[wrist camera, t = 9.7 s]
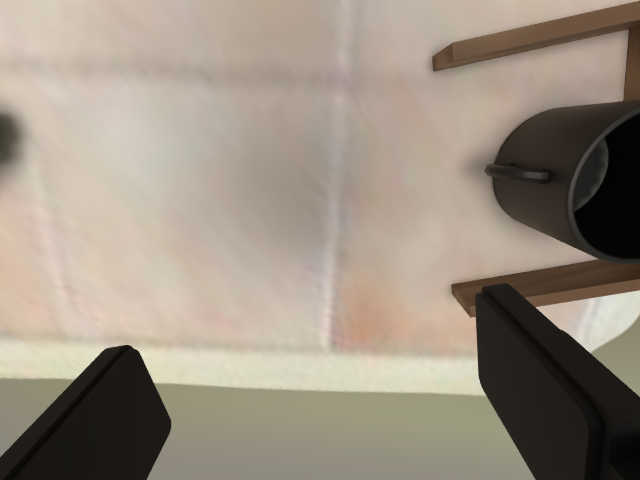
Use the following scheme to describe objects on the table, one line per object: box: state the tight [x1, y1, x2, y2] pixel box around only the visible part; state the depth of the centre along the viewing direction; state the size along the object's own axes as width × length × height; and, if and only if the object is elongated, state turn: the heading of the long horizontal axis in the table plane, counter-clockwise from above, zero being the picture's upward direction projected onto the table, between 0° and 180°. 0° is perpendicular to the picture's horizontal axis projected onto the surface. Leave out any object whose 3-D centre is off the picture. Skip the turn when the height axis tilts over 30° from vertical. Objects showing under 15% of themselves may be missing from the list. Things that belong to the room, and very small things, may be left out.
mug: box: [485, 100, 640, 264], centre depth 23 cm, size 9×12×9 cm
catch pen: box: [433, 1, 640, 317], centre depth 25 cm, size 20×15×4 cm
